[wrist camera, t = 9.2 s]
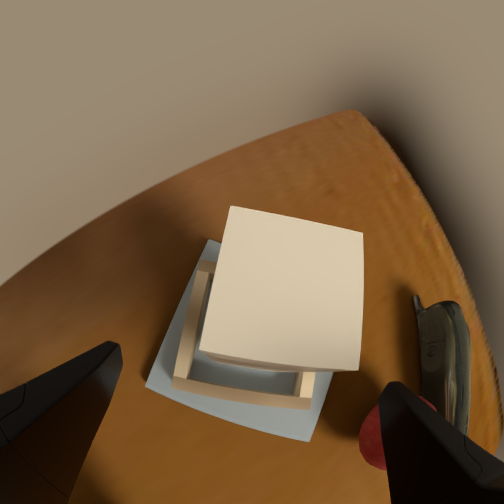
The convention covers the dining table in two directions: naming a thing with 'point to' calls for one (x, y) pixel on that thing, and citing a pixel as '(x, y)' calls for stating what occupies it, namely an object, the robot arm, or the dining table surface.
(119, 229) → the dining table surface
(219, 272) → the block
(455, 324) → the mobile phone
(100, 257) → the dining table surface
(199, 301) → the socket collar
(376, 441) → the onion
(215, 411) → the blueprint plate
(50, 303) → the dining table surface
